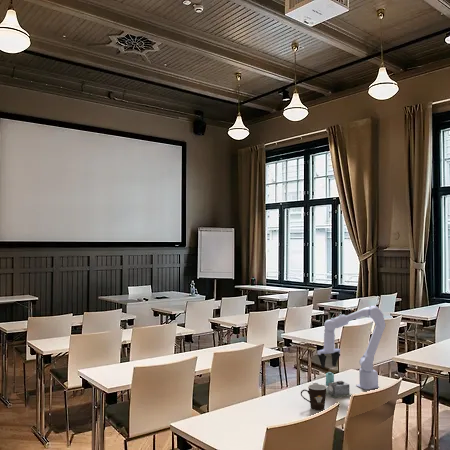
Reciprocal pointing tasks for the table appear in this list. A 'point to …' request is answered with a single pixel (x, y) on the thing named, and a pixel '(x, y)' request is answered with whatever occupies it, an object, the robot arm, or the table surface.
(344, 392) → the motor
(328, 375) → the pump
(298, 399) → the table surface
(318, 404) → the coffee mug
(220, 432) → the table surface
